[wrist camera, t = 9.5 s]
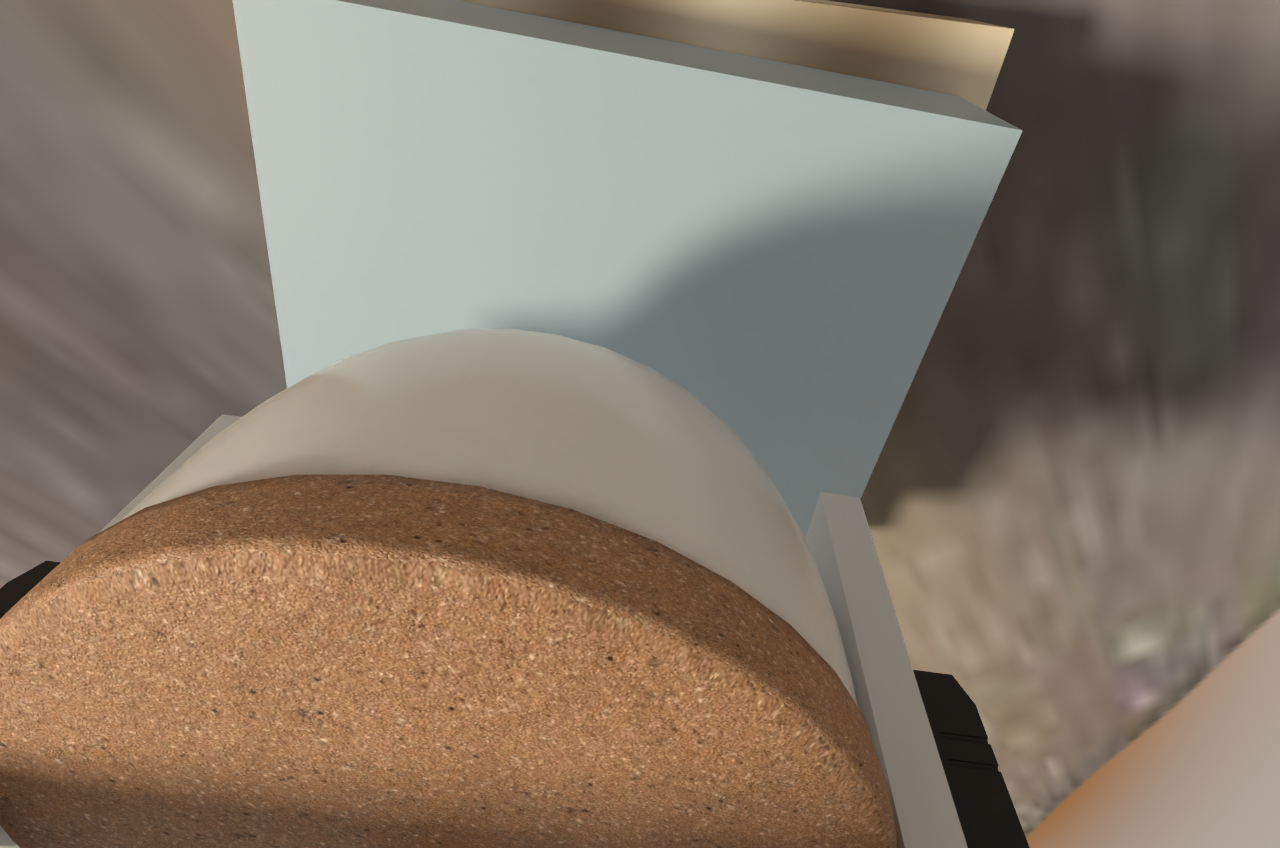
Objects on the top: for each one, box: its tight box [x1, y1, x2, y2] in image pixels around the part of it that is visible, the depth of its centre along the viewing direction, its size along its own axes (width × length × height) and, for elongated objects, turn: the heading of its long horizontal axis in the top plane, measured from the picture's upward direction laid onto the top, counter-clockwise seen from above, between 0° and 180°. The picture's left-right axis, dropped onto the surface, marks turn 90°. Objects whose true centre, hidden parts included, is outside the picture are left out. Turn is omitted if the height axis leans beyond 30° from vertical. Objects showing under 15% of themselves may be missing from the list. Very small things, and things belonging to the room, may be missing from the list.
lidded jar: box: [0, 328, 897, 848], centre depth 11 cm, size 11×11×9 cm
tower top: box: [233, 0, 1023, 537], centre depth 19 cm, size 15×15×4 cm
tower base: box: [458, 0, 1015, 111], centre depth 23 cm, size 18×18×4 cm
